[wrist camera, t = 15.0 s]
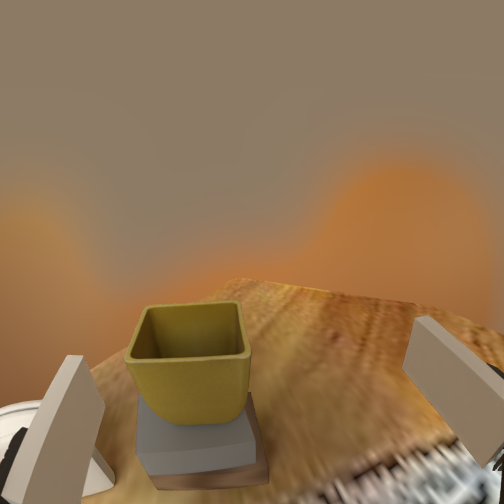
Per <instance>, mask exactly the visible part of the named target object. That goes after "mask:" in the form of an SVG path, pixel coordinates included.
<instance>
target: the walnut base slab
mask: <svg viewBox="0 0 504 504" xmlns="http://www.w3.org/2000/svg"><path fill="white" fill-rule="evenodd" d="M244 408H245V411H246V414H247V417H248V420H249V423H250V426H251V429H252V432H253V435H254V438H255V443H256V463H255V464H250V465H244V466H239V467H233V468H227V469H220V470H213V471H205V472H196V473H186V474H172V475H148V476H149V477H150V479H151V480H152V482H153V484H154V485H155V487H156V488H157V490H211V489H226V488H237V487H246V486H254V485H262V484H268V481H269V468H268V464H267V459H266V455H265V451H264V447H263V443H262V439H261V435H260V431H259V426H258V422H257V418H256V413H255V409H254V405H253V400H252V396H251V392H248V395H247V400H246V404H245V406H244Z"/></svg>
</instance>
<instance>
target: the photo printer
mask: <svg viewBox="0 0 504 504" xmlns="http://www.w3.org/2000/svg"><path fill="white" fill-rule="evenodd" d="M41 402H42V400H34V401H27V402H21V403H16V404H12V405H8V406H5V407H3V408H0V461H2V459H3V458H4V454H5V452H6V450H8V446H9V444H10V441H11V439H12V437H13V436H14V435H15V434H16V433H17V432H18V431H19V430H20V429H21V428H22V427H25V428H29V426H30V424H31V422H32V420H33V418H34V416H35V414H36V412H37V410H38V408H39V406H40V404H41ZM114 483H115V474H114V472H113V470H112V469H111V468H110V466H109V465H108V464H107V462H106V461H105V459H104V458H103V456H102V455H101V454H100V452H99V451H98V449H97V448H96V446H95V445H94V449H93V453H92V457H91V461H90V465H89V469H88V473H87V477H86V481H85V485H84V490H83V494H82V497H84V496H88V495H92V494H95V493H99V492H102V491H105V490H108V489H110V488H112V487H113V486H114Z"/></svg>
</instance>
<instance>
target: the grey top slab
mask: <svg viewBox="0 0 504 504" xmlns="http://www.w3.org/2000/svg"><path fill="white" fill-rule="evenodd" d="M136 454H137V456H138V458H139V460H140V462H141V463H142V465H143V467H144V468H145V470H146V472H147V473H148V475H172V474H186V473H196V472H205V471H213V470H220V469H227V468H233V467H239V466H244V465H250V464H255V463H256V443H255V438H254V435H253V432H252V429H251V426H250V423H249V420H248V417H247V414H246V411H245V408H244V409H243V410H242V412H241V413H240V414H239V416H238V417H237V418H235V419H234V420H233V421H231V422H229V423H225V424H206V425H175V424H173V423H170V422H168V421H166V420H164V419H162V418H161V417H159V416H158V415H157V414H155V413H154V412H153V411H152V410H151V409H150V408H149V406H148V405H147V404H146V402H145V401H144V399H143V397H142V395H141V393H140V392H139V400H138V415H137V434H136Z"/></svg>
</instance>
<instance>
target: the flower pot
mask: <svg viewBox="0 0 504 504" xmlns="http://www.w3.org/2000/svg"><path fill="white" fill-rule="evenodd" d="M251 354H252V352H251V348H250V344H249V341H248V337H247V333H246V329H245V324H244V319H243V313H242V307H241V303H240V301H239V300H226V301H213V302H199V303H182V304H162V305H147V306H146V307H145V309H144V310H143V313H142V315H141V317H140V320H139V322H138V325H137V326H136V329H135V332H134V334H133V337H132V339H131V342H130V344H129V346H128V349H127V351H126V354H125V359H124V361H125V363H126V365H127V368H128V370H129V372H130V374H131V376H132V378H133V380H134V382H135V384H136V386H137V388H138V390H139V392H140V393H141V395H142V397H143V399H144V401H145V402H146V404H147V405H148V406H149V408H150V409H151V410H152V411H153V412H154V413H155V414H157V415H158V416H159V417H161V418H162V419H164V420H166V421H168V422H170V423H173V424H175V425H206V424H225V423H229V422H231V421H233V420H234V419H235V418H237V417H238V416H239V414H240V413H241V412H242V410H243V409H244V406H245V404H246V400H247V395H248V387H249V376H250V363H251Z"/></svg>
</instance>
